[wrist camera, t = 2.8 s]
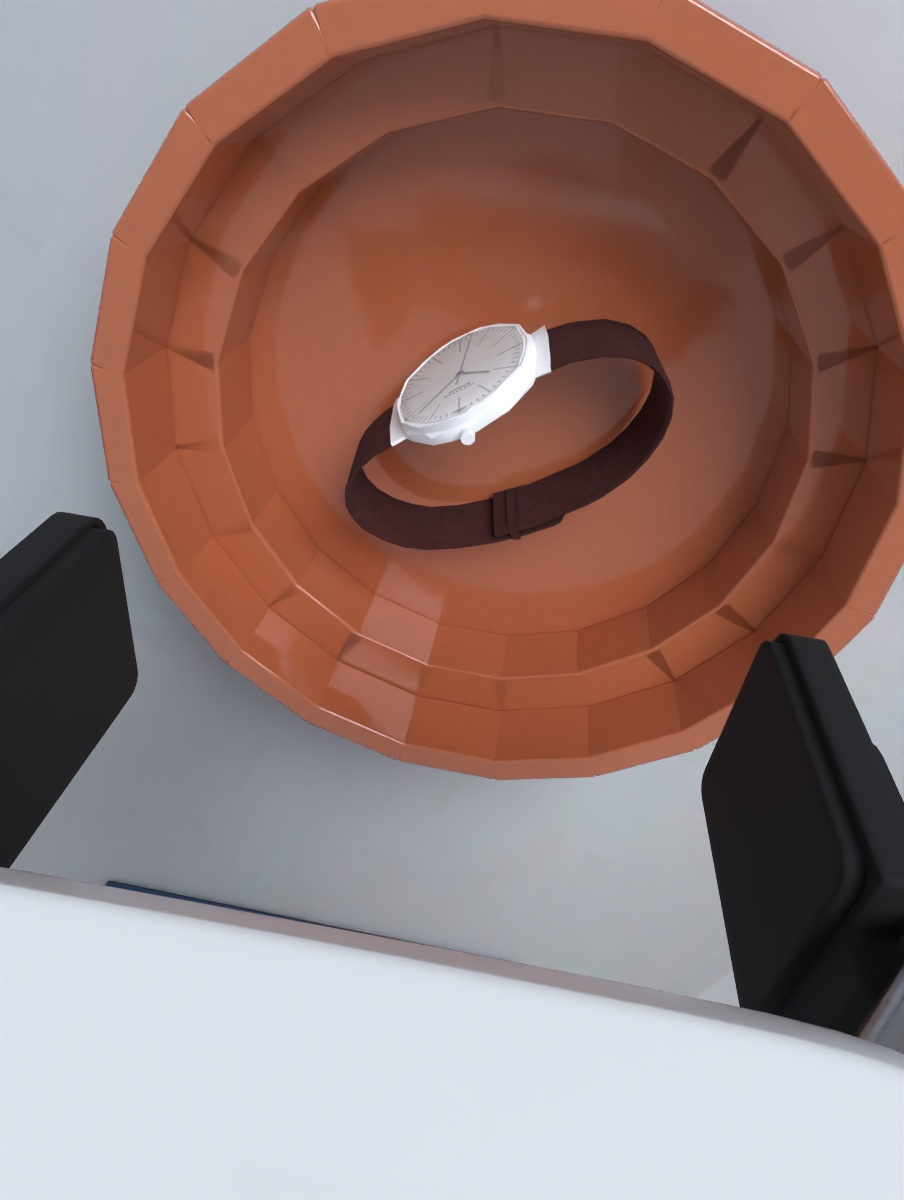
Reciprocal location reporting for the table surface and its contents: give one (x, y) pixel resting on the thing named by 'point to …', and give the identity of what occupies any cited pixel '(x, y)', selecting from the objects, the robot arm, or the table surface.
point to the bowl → (556, 400)
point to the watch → (481, 395)
